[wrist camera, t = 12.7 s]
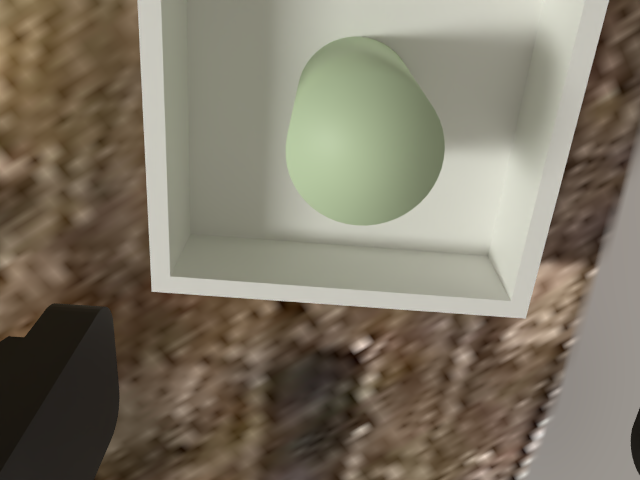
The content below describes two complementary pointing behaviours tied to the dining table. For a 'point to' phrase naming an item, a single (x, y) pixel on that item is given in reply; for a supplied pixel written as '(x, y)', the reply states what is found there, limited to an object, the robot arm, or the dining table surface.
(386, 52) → the pale green egg shape
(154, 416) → the dining table surface
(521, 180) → the bin
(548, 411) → the dining table surface
